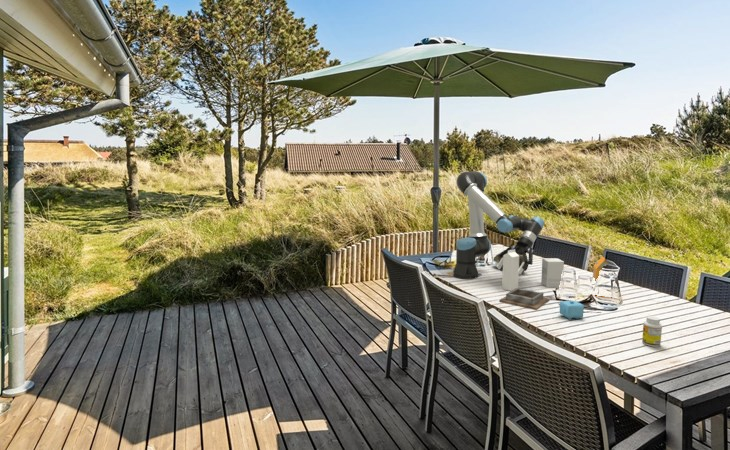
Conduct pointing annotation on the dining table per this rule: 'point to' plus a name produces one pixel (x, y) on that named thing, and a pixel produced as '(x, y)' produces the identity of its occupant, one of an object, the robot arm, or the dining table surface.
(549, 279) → the supplement box
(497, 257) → the hollow geode rock
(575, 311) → the light blue block
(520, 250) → the robot arm
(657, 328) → the supplement bottle
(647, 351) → the dining table surface
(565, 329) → the dining table surface
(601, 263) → the orange juice
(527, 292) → the holder
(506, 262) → the milk
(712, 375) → the dining table surface
